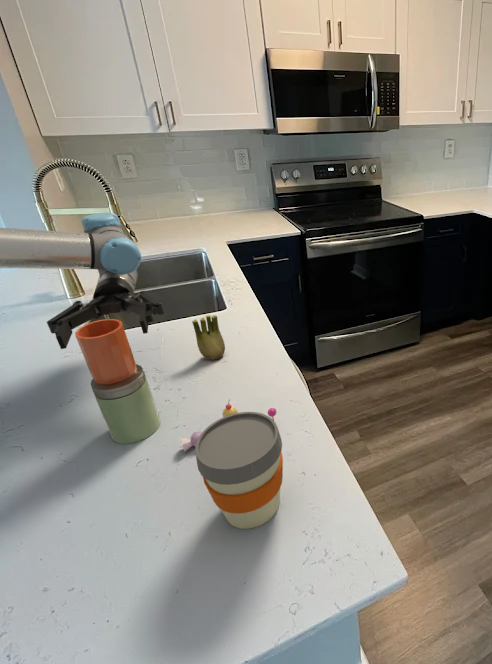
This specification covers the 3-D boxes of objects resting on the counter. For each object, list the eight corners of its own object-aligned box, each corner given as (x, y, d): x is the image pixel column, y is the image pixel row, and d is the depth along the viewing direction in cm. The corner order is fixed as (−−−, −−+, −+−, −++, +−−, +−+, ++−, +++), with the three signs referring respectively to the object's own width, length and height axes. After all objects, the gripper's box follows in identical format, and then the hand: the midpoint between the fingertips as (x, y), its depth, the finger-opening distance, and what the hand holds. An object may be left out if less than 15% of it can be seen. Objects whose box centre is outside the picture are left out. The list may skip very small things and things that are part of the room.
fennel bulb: (200, 362, 108) (189, 321, 103) (206, 351, 113) (197, 312, 107) (222, 361, 108) (213, 321, 103) (228, 351, 113) (219, 311, 107)
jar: (101, 437, 84) (79, 387, 79) (138, 409, 92) (121, 362, 86) (134, 448, 82) (115, 398, 76) (170, 419, 89) (154, 371, 83)
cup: (85, 376, 81) (67, 331, 76) (123, 358, 86) (108, 315, 81) (106, 389, 77) (88, 342, 72) (144, 369, 83) (130, 324, 78)
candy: (188, 463, 78) (180, 438, 76) (180, 437, 84) (173, 413, 82) (279, 426, 87) (276, 403, 84) (266, 405, 93) (263, 383, 90)
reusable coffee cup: (245, 466, 78) (231, 403, 70) (304, 487, 73) (295, 421, 66) (196, 524, 67) (173, 456, 60) (261, 551, 63) (245, 481, 56)
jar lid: (83, 393, 79) (79, 384, 78) (123, 368, 87) (120, 359, 86) (117, 403, 77) (114, 394, 76) (155, 376, 84) (153, 368, 83)
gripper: (177, 297, 103) (179, 337, 86) (56, 317, 94) (31, 366, 77) (170, 268, 99) (170, 304, 82) (43, 286, 90) (14, 331, 73)
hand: (103, 334), depth 79 cm, fingers open, 13 cm apart
